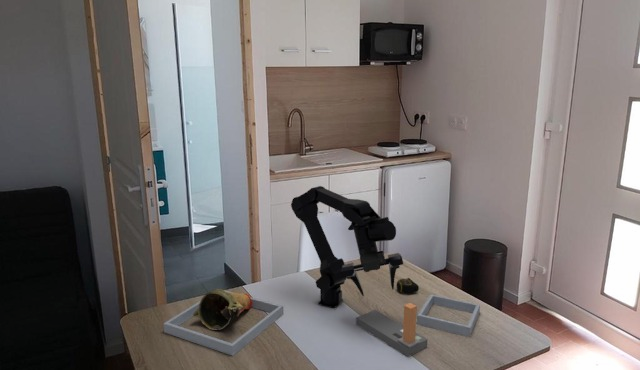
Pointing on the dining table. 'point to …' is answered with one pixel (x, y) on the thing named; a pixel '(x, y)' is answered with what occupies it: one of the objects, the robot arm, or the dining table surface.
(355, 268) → the robot arm
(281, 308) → the tray
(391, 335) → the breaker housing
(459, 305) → the tray
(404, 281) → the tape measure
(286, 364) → the dining table surface
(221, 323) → the pot
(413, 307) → the handle
